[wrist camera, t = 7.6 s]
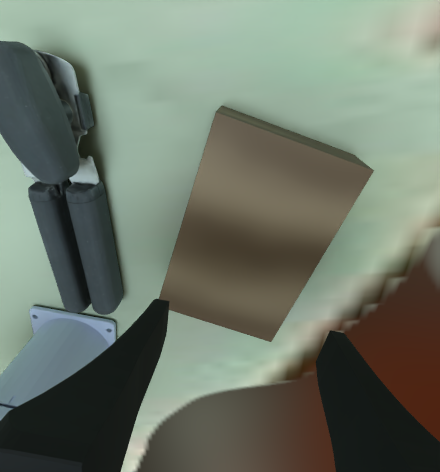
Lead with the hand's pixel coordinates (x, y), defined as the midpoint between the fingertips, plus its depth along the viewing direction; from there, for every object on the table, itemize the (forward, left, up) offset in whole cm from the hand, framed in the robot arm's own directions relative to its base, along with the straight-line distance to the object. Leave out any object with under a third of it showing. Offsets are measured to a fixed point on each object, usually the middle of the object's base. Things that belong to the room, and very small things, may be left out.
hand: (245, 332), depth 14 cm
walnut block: (0, 0, -11) cm, 11 cm away
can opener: (0, +13, -11) cm, 17 cm away
